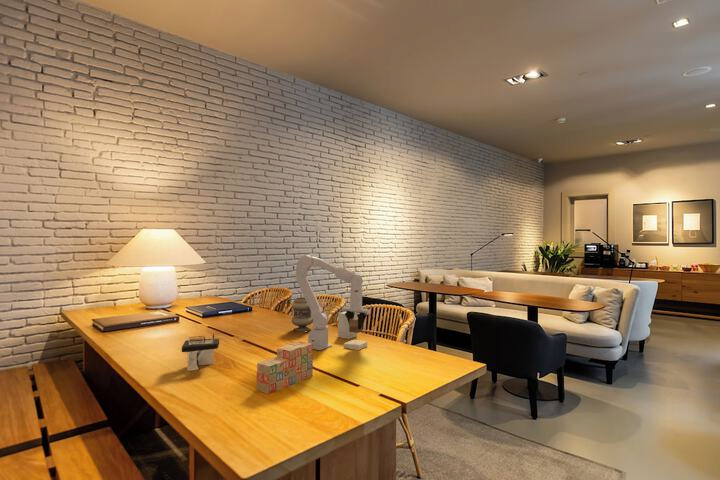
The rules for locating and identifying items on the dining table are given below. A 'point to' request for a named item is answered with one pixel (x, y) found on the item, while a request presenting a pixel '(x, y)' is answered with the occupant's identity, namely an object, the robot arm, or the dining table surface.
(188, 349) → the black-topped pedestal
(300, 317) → the stone urn vase
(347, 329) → the supplement box
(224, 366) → the dining table surface
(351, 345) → the base slab
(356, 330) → the walnut block
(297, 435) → the dining table surface
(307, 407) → the dining table surface
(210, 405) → the dining table surface
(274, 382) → the stack of blocks
